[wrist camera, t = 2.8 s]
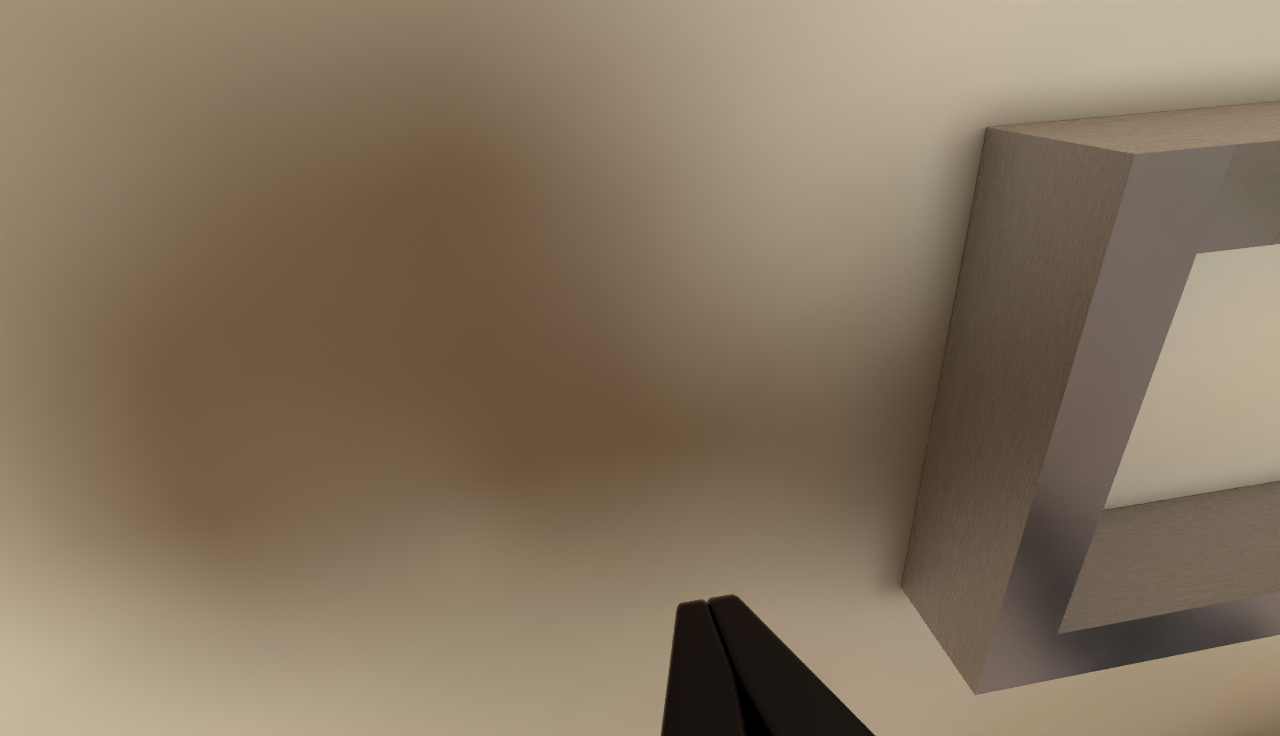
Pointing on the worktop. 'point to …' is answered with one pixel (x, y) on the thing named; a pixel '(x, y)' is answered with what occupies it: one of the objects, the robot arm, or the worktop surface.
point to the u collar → (1087, 403)
